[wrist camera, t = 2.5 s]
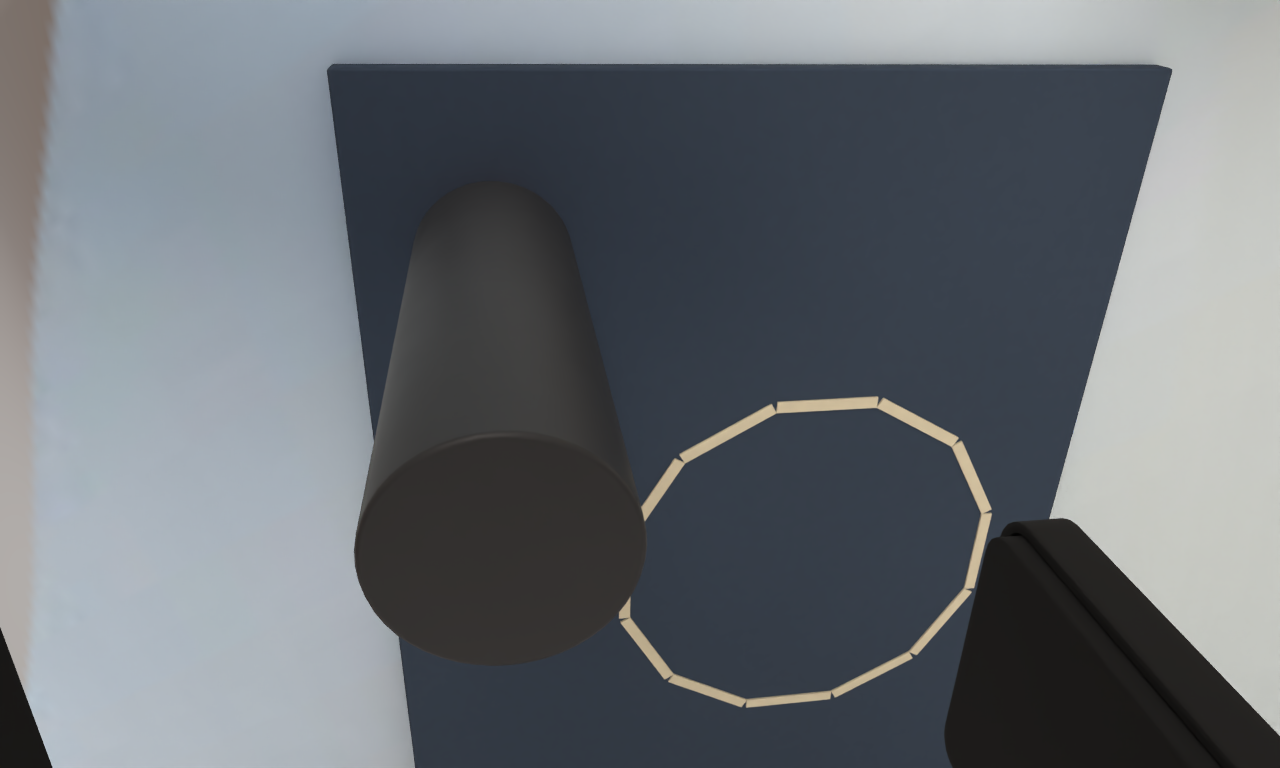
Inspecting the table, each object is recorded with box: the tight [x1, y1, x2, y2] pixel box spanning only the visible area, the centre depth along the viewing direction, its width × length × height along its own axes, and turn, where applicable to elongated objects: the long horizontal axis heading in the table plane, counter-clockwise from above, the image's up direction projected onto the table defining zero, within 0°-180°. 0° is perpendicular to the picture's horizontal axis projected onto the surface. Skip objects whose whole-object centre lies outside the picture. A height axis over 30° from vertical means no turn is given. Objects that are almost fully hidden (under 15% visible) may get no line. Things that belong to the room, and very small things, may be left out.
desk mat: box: [327, 64, 1172, 768], centre depth 24 cm, size 22×18×1 cm
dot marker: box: [354, 181, 647, 666], centre depth 15 cm, size 3×3×11 cm
